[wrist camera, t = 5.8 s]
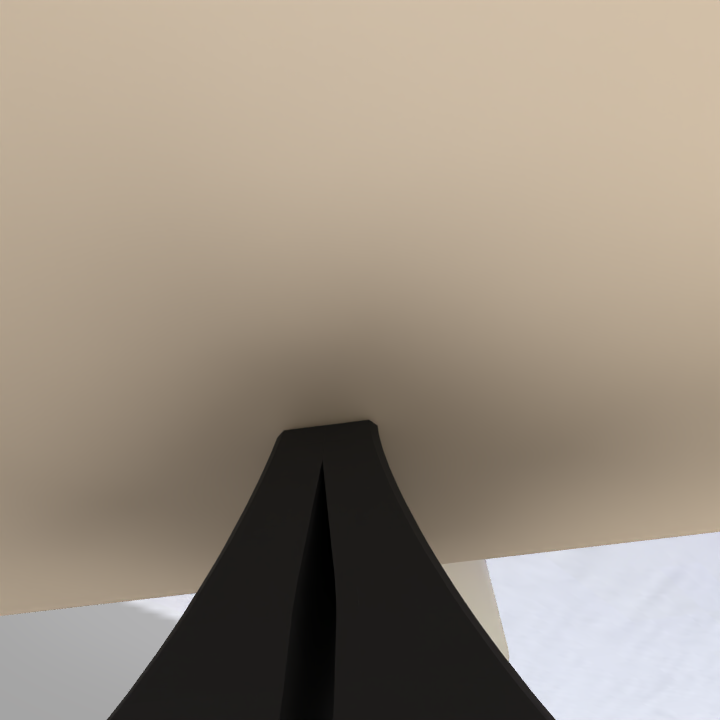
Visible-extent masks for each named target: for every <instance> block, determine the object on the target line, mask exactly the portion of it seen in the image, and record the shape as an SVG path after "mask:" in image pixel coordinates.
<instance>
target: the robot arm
mask: <svg viewBox="0 0 720 720" xmlns="http://www.w3.org/2000/svg"><path fill="white" fill-rule="evenodd" d="M107 720H555V719H554V717H553V716H552V715H551V714H550V713H549V712H548V710H547V709H546V708H545V707H544V706H543V705H542V703H541V702H540V701H539V700H538V699H537V697H536V696H535V695H534V694H533V692H532V691H531V690H530V689H529V687H528V686H527V685H526V683H525V682H524V681H523V680H522V678H521V677H520V676H519V675H518V673H517V672H516V671H515V669H514V668H513V667H512V666H511V664H510V663H509V662H508V660H507V659H506V658H505V657H504V655H503V654H502V653H501V651H500V650H499V649H498V647H497V646H496V644H495V643H494V642H493V640H492V639H491V638H490V636H489V635H488V634H487V632H486V631H485V629H484V628H483V627H482V625H481V624H480V623H479V621H478V620H477V618H476V617H475V615H474V614H473V613H472V611H471V610H470V608H469V607H468V605H467V604H466V602H465V601H464V599H463V598H462V596H461V595H460V593H459V592H458V590H457V589H456V587H455V586H454V584H453V583H452V581H451V580H450V578H449V576H448V575H447V573H446V572H445V570H444V568H443V567H442V565H441V564H440V562H439V561H438V559H437V557H436V556H435V554H434V552H433V551H432V549H431V547H430V546H429V544H428V542H427V540H426V539H425V537H424V535H423V533H422V532H421V530H420V528H419V526H418V524H417V522H416V520H415V519H414V517H413V515H412V513H411V511H410V509H409V507H408V506H407V504H406V502H405V500H404V498H403V496H402V494H401V492H400V490H399V487H398V485H397V483H396V481H395V478H394V476H393V474H392V471H391V469H390V467H389V464H388V462H387V459H386V456H385V454H384V451H383V448H382V444H381V440H380V437H379V431H378V425H376V424H375V423H373V422H372V421H370V420H362V421H354V422H346V423H338V424H330V425H322V426H314V427H306V428H298V429H290V430H283V432H282V433H281V434H280V435H279V436H278V437H277V439H276V442H275V444H274V447H273V449H272V452H271V454H270V456H269V459H268V461H267V463H266V465H265V468H264V470H263V472H262V474H261V476H260V478H259V480H258V483H257V485H256V487H255V489H254V491H253V493H252V495H251V497H250V499H249V501H248V503H247V505H246V507H245V509H244V511H243V512H242V514H241V516H240V518H239V520H238V522H237V524H236V525H235V527H234V529H233V531H232V533H231V535H230V537H229V538H228V540H227V542H226V544H225V546H224V548H223V549H222V551H221V553H220V555H219V556H218V558H217V560H216V562H215V563H214V565H213V566H212V568H211V570H210V571H209V573H208V575H207V576H206V578H205V580H204V581H203V583H202V584H201V586H200V588H199V589H198V591H197V593H196V594H195V596H194V598H193V599H192V601H191V602H190V604H189V606H188V607H187V609H186V611H185V612H184V614H183V615H182V617H181V618H180V620H179V621H178V623H177V624H176V626H175V627H174V629H173V630H172V632H171V633H170V635H169V636H168V638H167V639H166V641H165V642H164V644H163V645H162V646H161V648H160V649H159V651H158V652H157V654H156V655H155V656H154V658H153V659H152V661H151V662H150V663H149V665H148V666H147V668H146V669H145V671H144V672H143V673H142V674H141V676H140V677H139V679H138V680H137V682H136V683H135V684H134V686H133V687H132V688H131V690H130V691H129V692H128V694H127V695H126V696H125V697H124V699H123V700H122V701H121V703H120V704H119V705H118V706H117V708H116V709H115V710H114V712H113V713H112V714H111V715H110V717H109V718H108V719H107Z"/></svg>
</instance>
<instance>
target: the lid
mask: <svg viewBox="0 0 720 720" xmlns="http://www.w3.org/2000/svg"><path fill="white" fill-rule="evenodd" d="M362 420H370V421H372V422H373V423H375V424H376V425H378V431H379V437H380V440H381V444H382V448H383V451H384V454H385V456H386V459H387V462H388V464H389V467H390V469H391V471H392V474H393V476H394V478H395V481H396V483H397V485H398V487H399V490H400V492H401V494H402V496H403V498H404V500H405V502H406V504H407V506H408V507H409V509H410V511H411V513H412V515H413V517H414V519H415V520H416V522H417V524H418V526H419V528H420V530H421V532H422V533H423V535H424V537H425V539H426V540H427V542H428V544H429V546H430V547H431V549H432V551H433V552H434V554H435V556H436V557H437V559H438V561H439V562H440V564H448V563H456V562H465V561H473V560H482V559H490V558H499V557H507V556H516V555H524V554H533V553H541V552H550V551H558V550H567V549H576V548H584V547H593V546H601V545H610V544H618V543H627V542H635V541H644V540H652V539H661V538H669V537H678V536H686V535H695V534H703V533H712V532H720V0H0V616H4V615H13V614H21V613H30V612H38V611H46V610H55V609H63V608H72V607H81V606H89V605H98V604H106V603H115V602H123V601H132V600H140V599H149V598H158V597H166V596H175V595H183V594H192V593H197V591H198V589H199V588H200V586H201V584H202V583H203V581H204V580H205V578H206V576H207V575H208V573H209V571H210V570H211V568H212V566H213V565H214V563H215V562H216V560H217V558H218V556H219V555H220V553H221V551H222V549H223V548H224V546H225V544H226V542H227V540H228V538H229V537H230V535H231V533H232V531H233V529H234V527H235V525H236V524H237V522H238V520H239V518H240V516H241V514H242V512H243V511H244V509H245V507H246V505H247V503H248V501H249V499H250V497H251V495H252V493H253V491H254V489H255V487H256V485H257V483H258V480H259V478H260V476H261V474H262V472H263V470H264V468H265V465H266V463H267V461H268V459H269V456H270V454H271V452H272V449H273V447H274V444H275V442H276V439H277V437H278V436H279V435H280V434H281V433H282V432H283V430H290V429H298V428H306V427H314V426H322V425H330V424H338V423H346V422H354V421H362Z"/></svg>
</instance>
